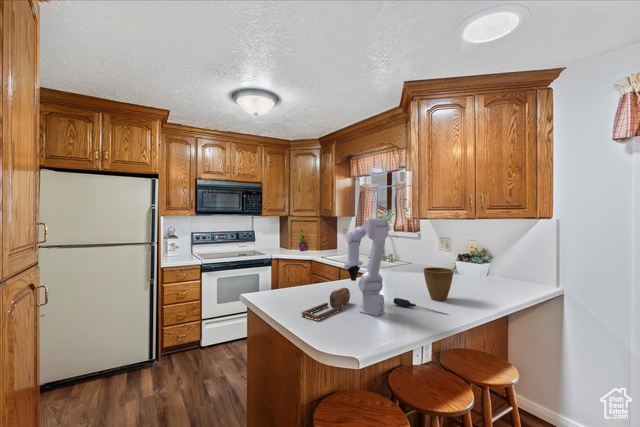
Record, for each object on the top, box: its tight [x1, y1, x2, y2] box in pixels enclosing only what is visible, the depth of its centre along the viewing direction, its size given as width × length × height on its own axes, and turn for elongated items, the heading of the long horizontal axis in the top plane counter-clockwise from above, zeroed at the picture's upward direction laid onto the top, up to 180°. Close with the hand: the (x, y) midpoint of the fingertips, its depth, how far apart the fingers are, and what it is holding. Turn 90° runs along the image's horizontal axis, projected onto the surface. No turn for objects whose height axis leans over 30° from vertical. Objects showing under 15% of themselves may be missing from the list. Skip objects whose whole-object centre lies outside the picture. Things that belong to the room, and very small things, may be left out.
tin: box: [329, 287, 351, 309], centre depth 147 cm, size 15×3×8 cm, turn 143°
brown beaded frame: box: [301, 302, 343, 320], centre depth 136 cm, size 9×18×2 cm, turn 141°
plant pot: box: [423, 266, 454, 302], centre depth 159 cm, size 15×15×16 cm
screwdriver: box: [393, 297, 450, 316], centre depth 142 cm, size 26×4×4 cm, turn 55°
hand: (353, 280), depth 157 cm, fingers closed
